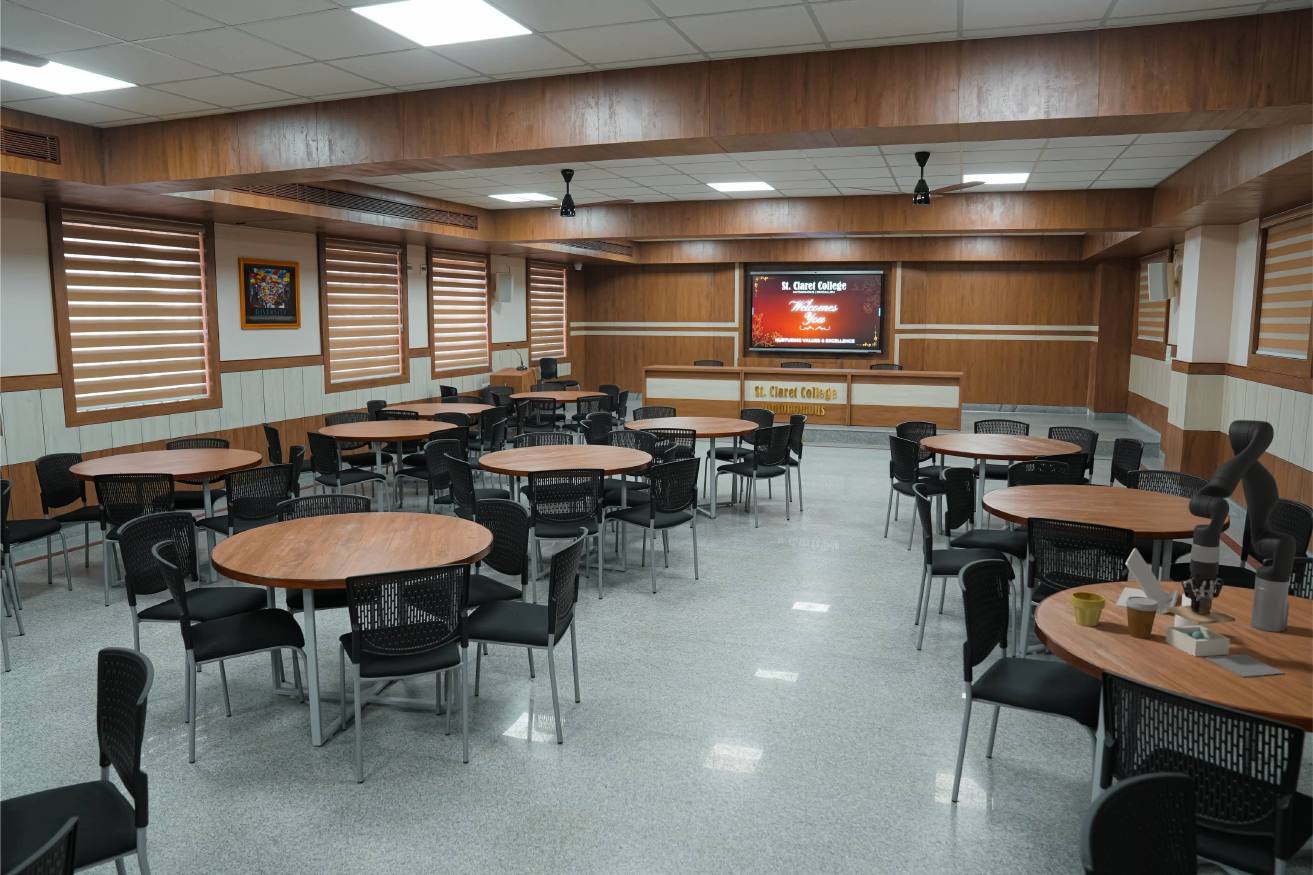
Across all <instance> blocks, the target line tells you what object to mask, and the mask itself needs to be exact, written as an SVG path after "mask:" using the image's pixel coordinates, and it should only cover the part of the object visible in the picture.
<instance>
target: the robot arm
mask: <svg viewBox="0 0 1313 875" xmlns="http://www.w3.org/2000/svg"><path fill="white" fill-rule="evenodd" d="M1274 436H1275V430H1274V427H1273V425H1272V424H1271V423H1270V422H1268V421H1263V420H1250V419H1237V420H1234V421H1232V422H1231V423H1230V425H1229V427H1228V440H1229V444H1230V447H1231V451H1232V453H1233V457H1231V458H1230V459H1228V460H1227V461H1225V462H1224V463H1222V464H1221V465H1220V466H1218V467H1217V469H1216V470H1215V471H1214V473H1213V475H1212V476H1211V478H1210V479H1209V480H1208V482H1207V484H1205V485H1204V486H1203V487H1202V488H1201V489H1199V490H1198V491H1197V492H1196V493H1195V494H1194V495H1193V496H1192V497H1191V499H1190V500H1189V503H1188V510H1189V512H1190V514H1191V515H1193V516H1194V517H1198V518H1203V519H1209V520H1210V523H1209V524H1198V525H1195V527H1194V528H1193V536H1192V545H1191V546H1192V547H1191V551H1190V561H1189V563H1190V564H1189V571H1190V577H1189V579H1187V580H1183V579H1182V580H1181V585H1182V589H1183V594H1185V596H1186V597H1187V598H1190V599H1191V609H1192V611H1194V612H1199V599H1200V596H1202V595H1203V596H1205V597H1207V598H1210V599H1211V606H1210V609H1211V608H1212V601H1213V600H1214V599H1216V598H1218V597H1220V593H1221V591H1222V589H1223V586H1224V583H1225V580H1223V579H1221V578H1218V576H1217V575H1218V574H1219V566H1220V543H1221V542H1220V541H1221V533H1222V530H1223V528H1224V524H1225V522H1226V520H1227V517H1228V515H1229V513H1230V504H1229V503H1228V501H1227V500H1226V499H1228V498H1229V497H1231V496H1233V495H1232V494H1233V493H1234V491H1235V490H1236V489H1237V486H1238V485H1239V484H1240V481H1241V486H1242V490H1243V495H1244V499H1245V503H1246V506H1247V513H1248V517H1249V523H1250V533H1251V534H1250V535H1251V545H1252V547H1253V548H1252V549H1253V551H1254V552H1255V553H1256V554H1257V555H1259V556H1261V557H1264V558H1267V559H1272V560H1273V561H1272V565H1269V566H1260V567H1258V568H1256V571H1255V581H1254V591H1253V601H1252V610H1251V620H1250V625H1251V626H1252V627H1253V628H1255V629H1258V630H1262V631H1267V632H1278V633H1279V632H1283V631H1285V630H1287V629H1288V622H1289V621H1288V620H1289V610H1290V601H1288V597H1289V596H1288V595H1289V586H1290V580H1291V579H1290V578H1291V575H1292V572H1293V568H1294V562H1295V556H1296V550H1297V542H1296V539H1295V537H1294V536H1293V535H1291V534H1290V533H1289V534H1288V533H1284V532H1280V531H1274V530H1272V528H1271V527H1270V521H1269V517H1270V515H1271V514H1272V512H1273V511H1274V510H1275V508H1276V507H1277V505H1278V503H1279V499H1280V494H1279V492H1278V491H1279V490H1278V485H1277V481H1276V479H1275V477H1274V475H1273V474H1271V472H1270V471H1269V470H1268V469H1267V468H1266V467H1265V466H1264V465H1263V464H1262V463H1261V462H1260V461H1259V459H1260V458H1261V456H1262V455H1263V454H1264V453H1265V452H1266V451H1267V449H1269V447H1270V446H1271V444H1272V442H1273V440H1274Z"/></svg>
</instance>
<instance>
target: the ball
mask: <svg viewBox="0 0 1313 875" xmlns="http://www.w3.org/2000/svg"><path fill="white" fill-rule="evenodd" d="M1192 638H1194V639H1196V640H1198V639H1200V638H1204V635H1203V633H1201V632H1199V631H1195V632H1193V634H1192Z"/></svg>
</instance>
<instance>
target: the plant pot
mask: <svg viewBox="0 0 1313 875" xmlns="http://www.w3.org/2000/svg"><path fill="white" fill-rule="evenodd" d="M1070 599H1071V602H1070V603H1071V605H1072V606H1073V611H1074V617H1075V618H1074V619H1075V622H1076V623H1077V625H1079V626H1080V625H1081V626H1083V625H1084V627H1097V626H1098V624H1099V621H1100V618H1101V614H1102V612H1103V610H1104V609H1105V606H1106V598H1105V596H1103V595H1102V594H1098V593H1096V592H1092V591H1091V592H1090V591H1076V592H1072V593H1071V597H1070Z"/></svg>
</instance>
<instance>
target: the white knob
mask: <svg viewBox="0 0 1313 875" xmlns="http://www.w3.org/2000/svg"><path fill="white" fill-rule="evenodd" d="M1190 605H1191V599H1190V598H1187V597H1186V596H1185V593H1182V598H1181V606H1190ZM1196 625H1198V624H1196V623H1194V622H1191V621H1189V620H1187V619H1185V618H1183V617H1180V616H1178V615H1176V614H1174V625H1173V627H1182V626H1196ZM1200 626H1202V627H1205V628H1207V624H1200Z"/></svg>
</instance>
